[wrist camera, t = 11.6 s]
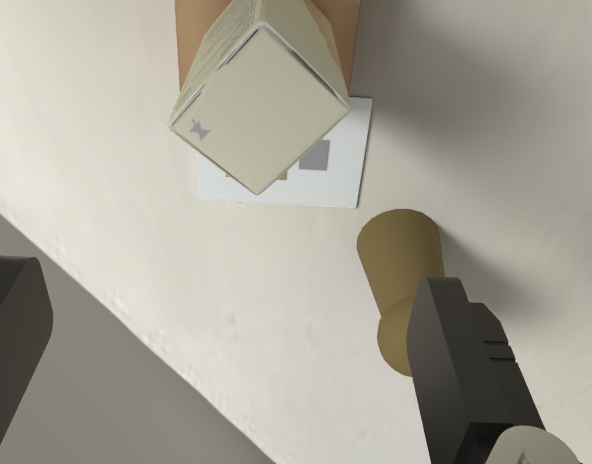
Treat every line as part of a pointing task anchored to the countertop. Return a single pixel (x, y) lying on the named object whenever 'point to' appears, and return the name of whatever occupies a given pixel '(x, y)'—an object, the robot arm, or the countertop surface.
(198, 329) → the countertop surface
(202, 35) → the base brick
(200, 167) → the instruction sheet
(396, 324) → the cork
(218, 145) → the box
